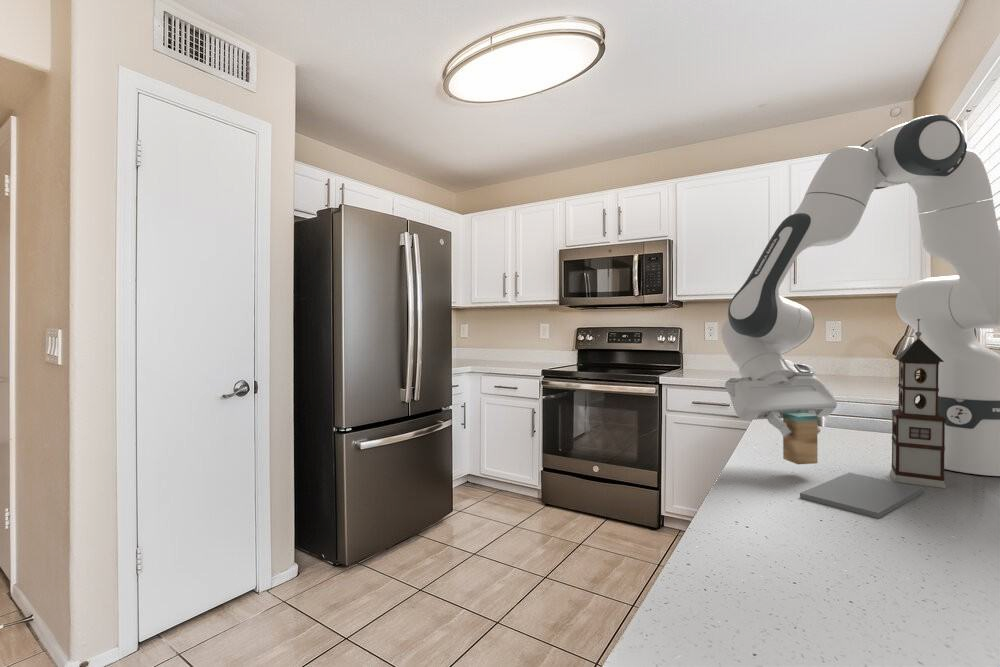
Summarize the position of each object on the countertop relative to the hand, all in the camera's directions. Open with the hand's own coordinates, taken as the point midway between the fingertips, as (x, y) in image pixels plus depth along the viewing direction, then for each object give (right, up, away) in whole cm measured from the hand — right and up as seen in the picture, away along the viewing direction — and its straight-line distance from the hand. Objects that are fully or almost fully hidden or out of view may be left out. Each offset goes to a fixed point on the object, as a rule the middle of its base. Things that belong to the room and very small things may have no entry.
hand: (802, 434), depth 95 cm
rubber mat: (+4, -8, -10) cm, 14 cm away
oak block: (0, -5, +1) cm, 5 cm away
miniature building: (+20, -8, -2) cm, 22 cm away
